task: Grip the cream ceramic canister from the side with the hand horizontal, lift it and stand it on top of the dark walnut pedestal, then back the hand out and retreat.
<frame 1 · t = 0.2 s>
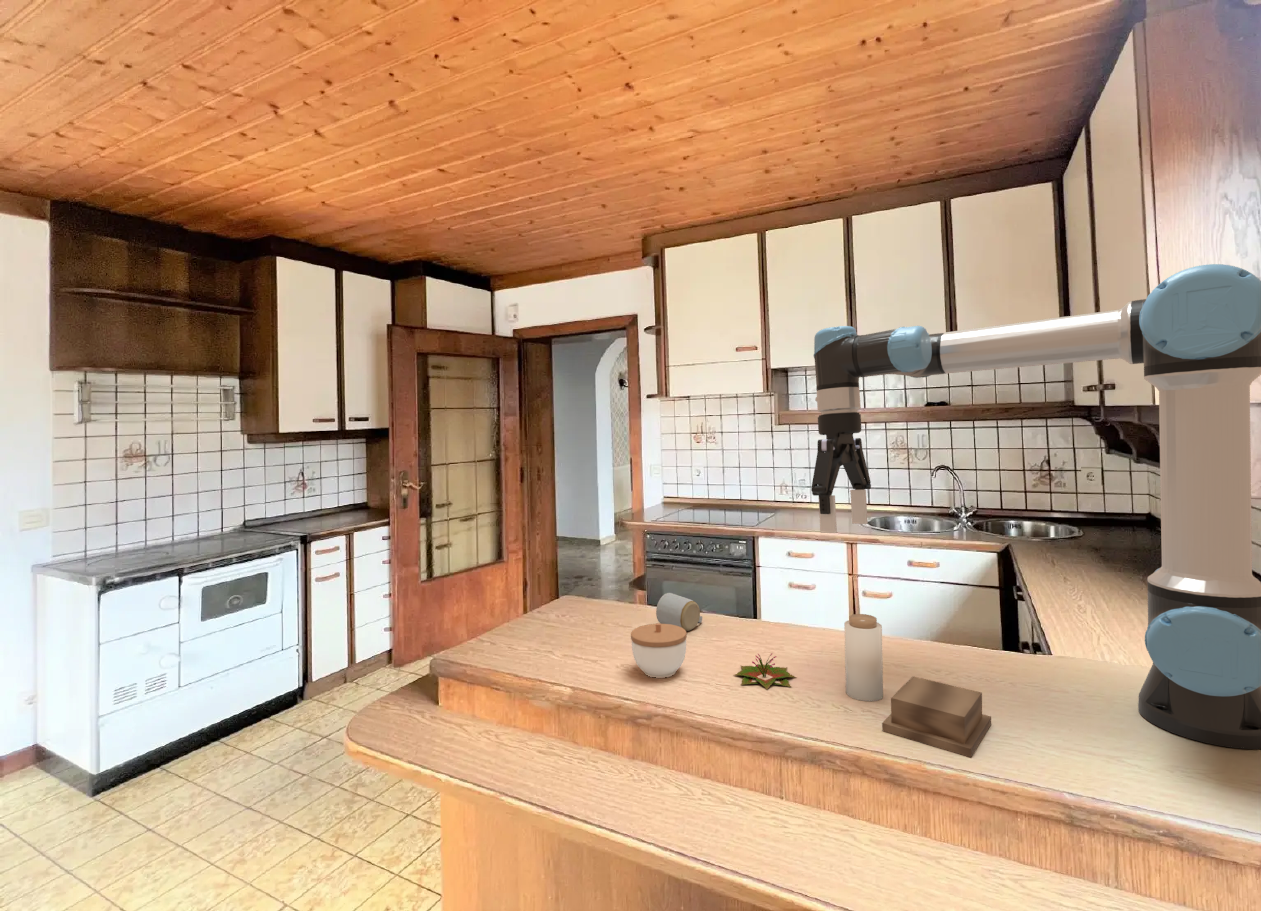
hand: (844, 528, 112), 27 cm above the counter, tool pointing down, fingers open, 13 cm apart
canister: (864, 693, 105), on the counter
lily flower: (764, 680, 113), on the counter
lidded jar: (659, 672, 117), on the counter
pedestal: (937, 727, 92), on the counter
ceramic mug: (682, 627, 144), on the counter
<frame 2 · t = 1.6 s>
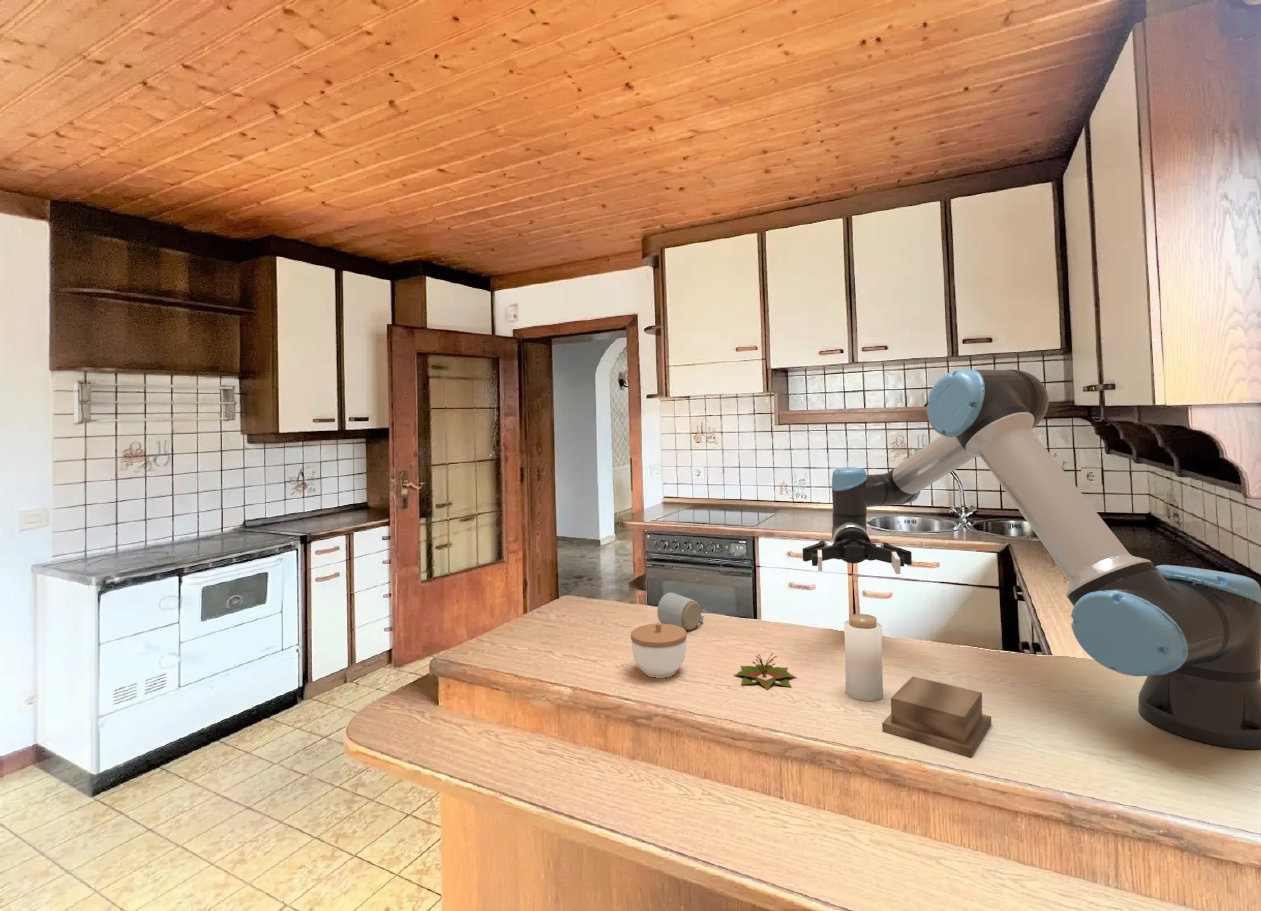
hand: (858, 565, 113), 20 cm above the counter, tool horizontal, fingers open, 13 cm apart
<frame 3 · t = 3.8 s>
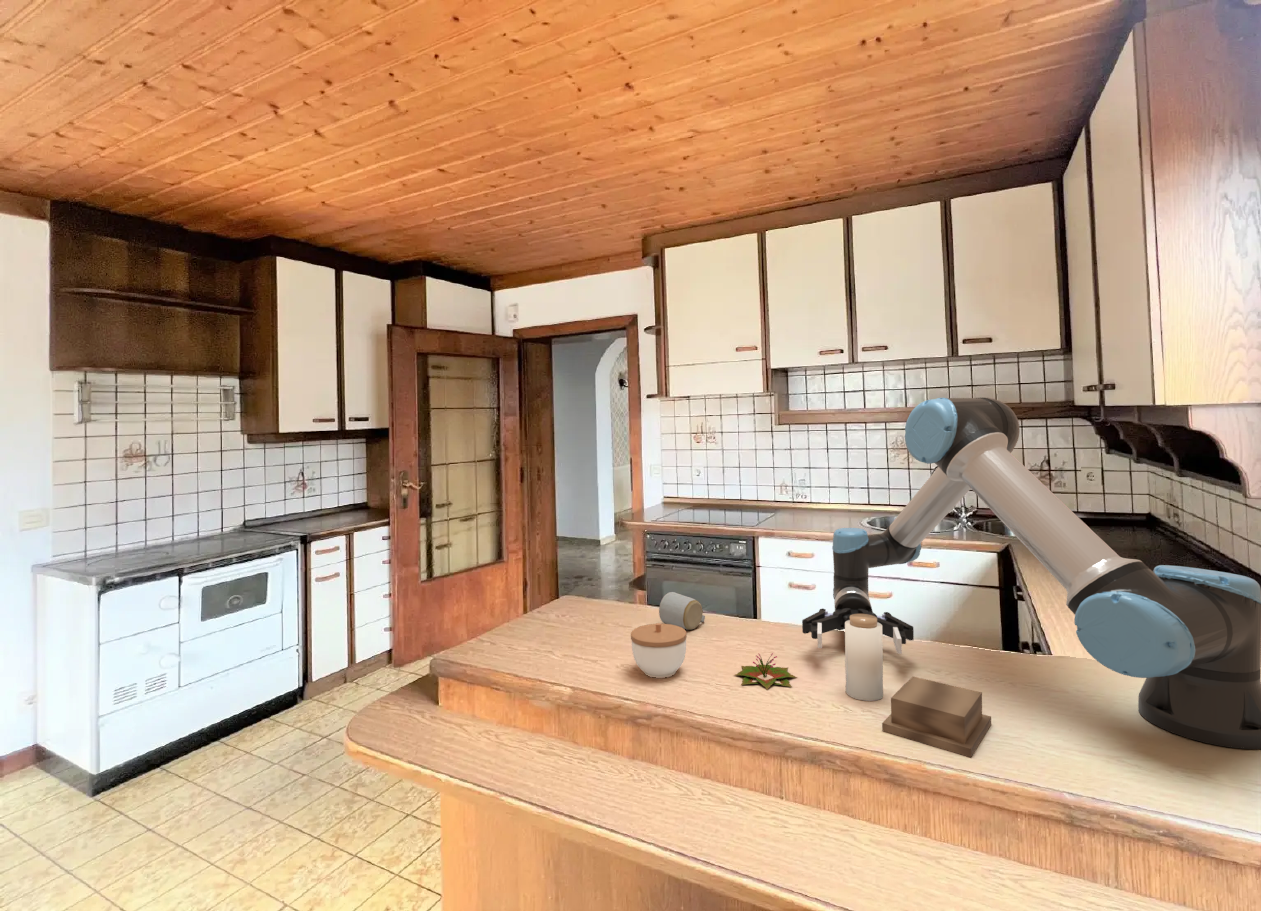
hand: (858, 643, 111), 6 cm above the counter, tool horizontal, fingers open, 13 cm apart
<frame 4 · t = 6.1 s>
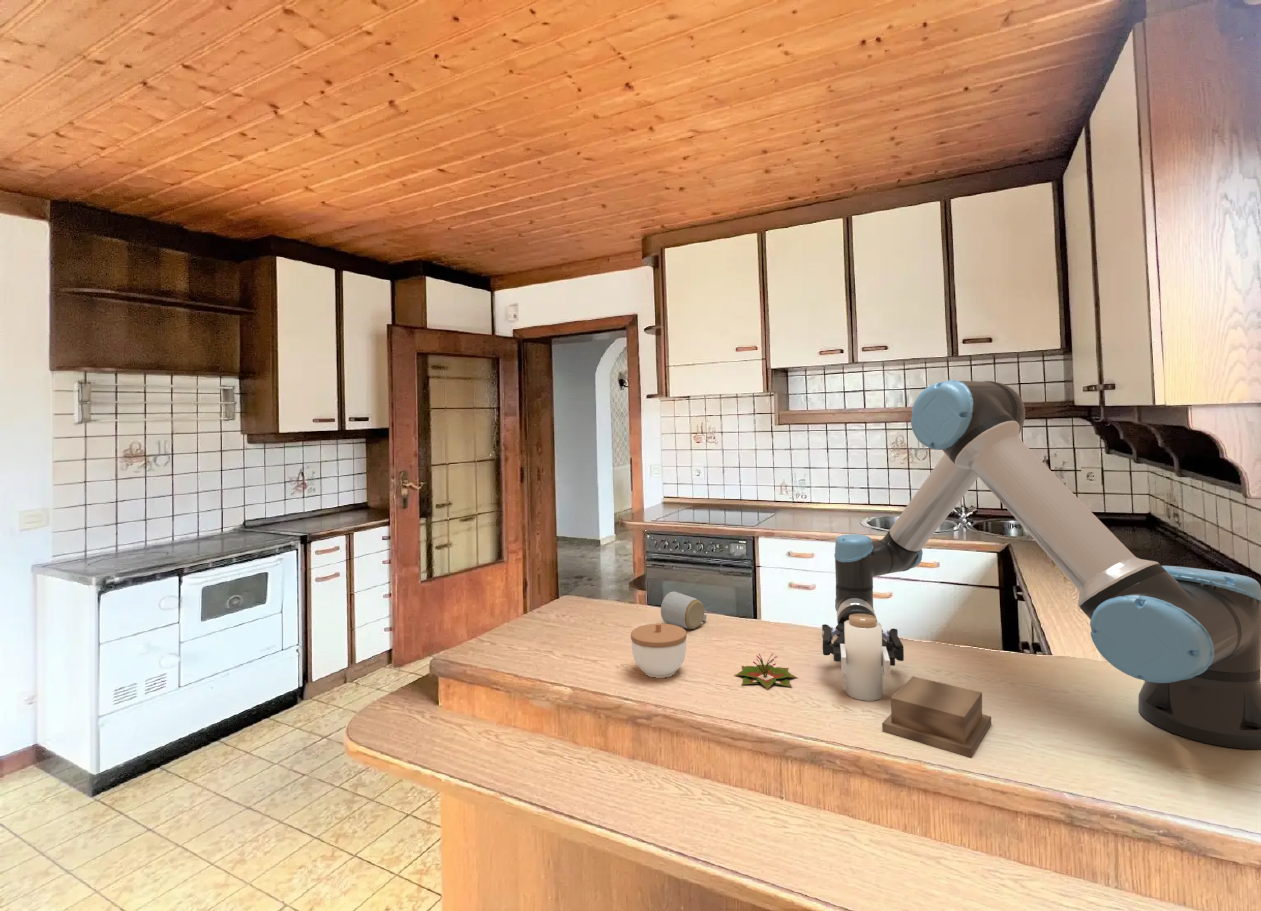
hand: (865, 666, 100), 7 cm above the counter, tool horizontal, fingers closed on canister, 6 cm apart
canister: (864, 693, 105), on the counter, touching gripper
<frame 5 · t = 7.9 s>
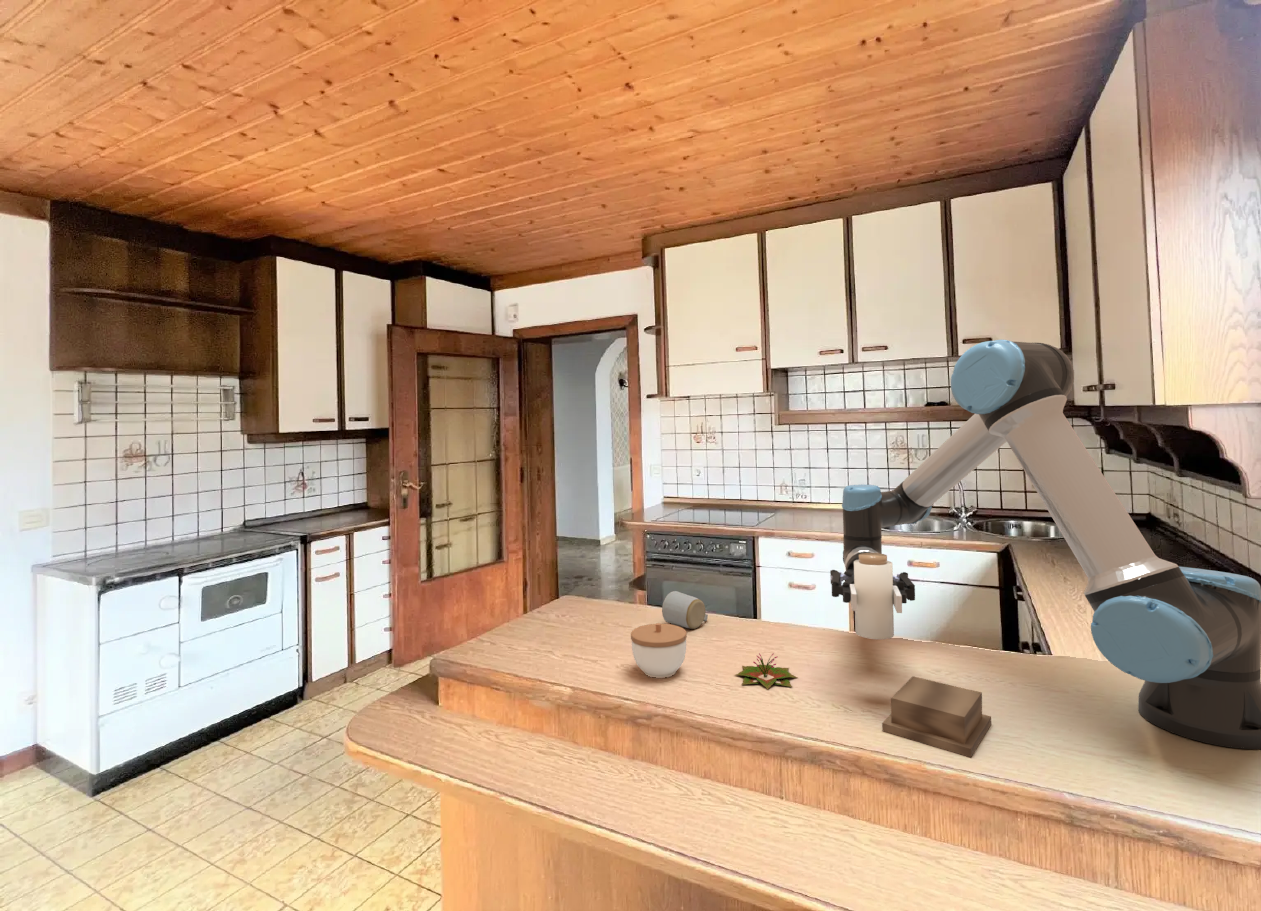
hand: (876, 603, 97), 18 cm above the counter, tool horizontal, fingers closed on canister, 6 cm apart
canister: (874, 633, 102), point 11 cm above the counter, touching gripper
when the fingers open (13 cm above the counter, at t = 9.8 s): canister drops 1 cm, resting on pedestal.
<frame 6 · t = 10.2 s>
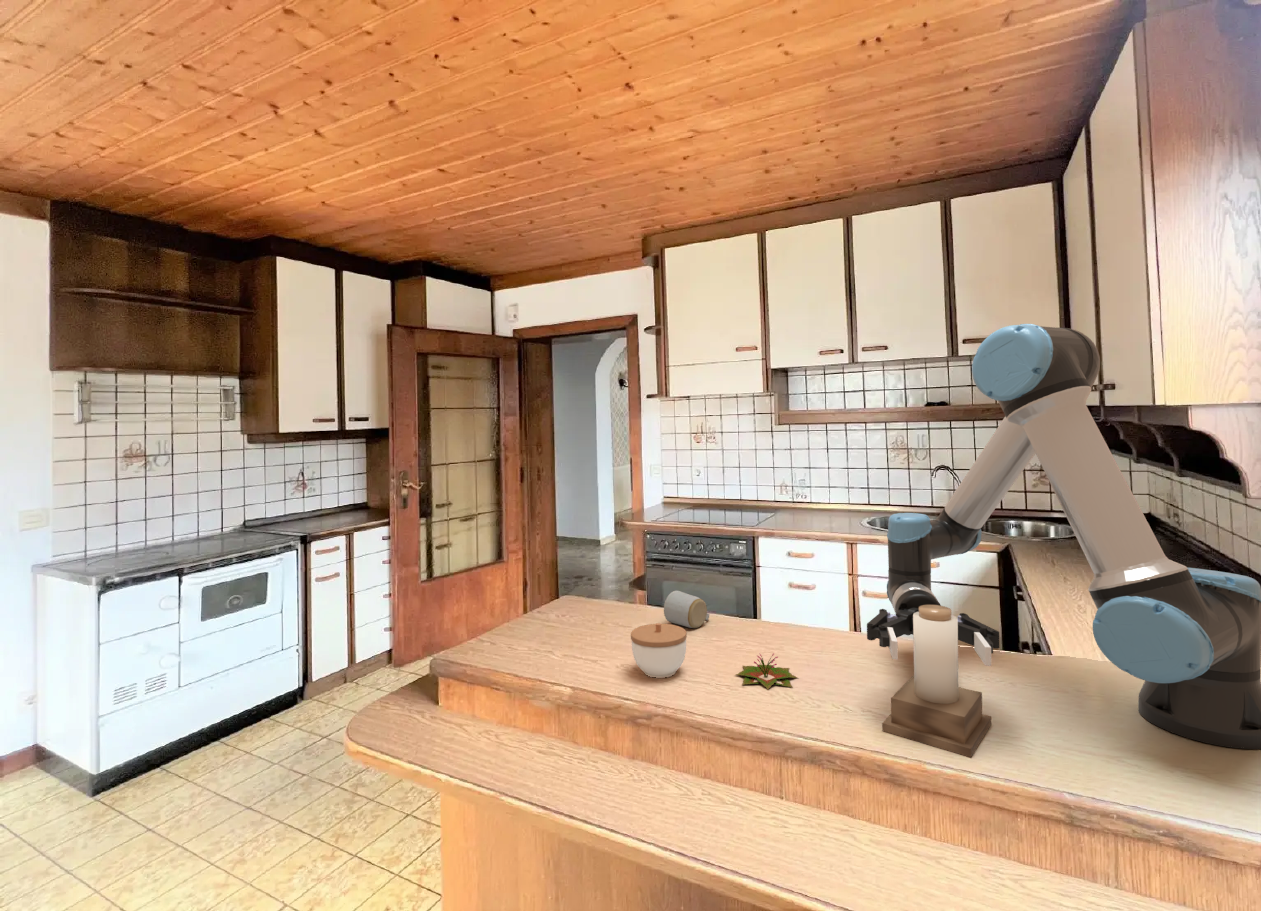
hand: (940, 653, 88), 13 cm above the counter, tool horizontal, fingers open, 11 cm apart
canister: (936, 694, 92), point 5 cm above the counter, touching pedestal
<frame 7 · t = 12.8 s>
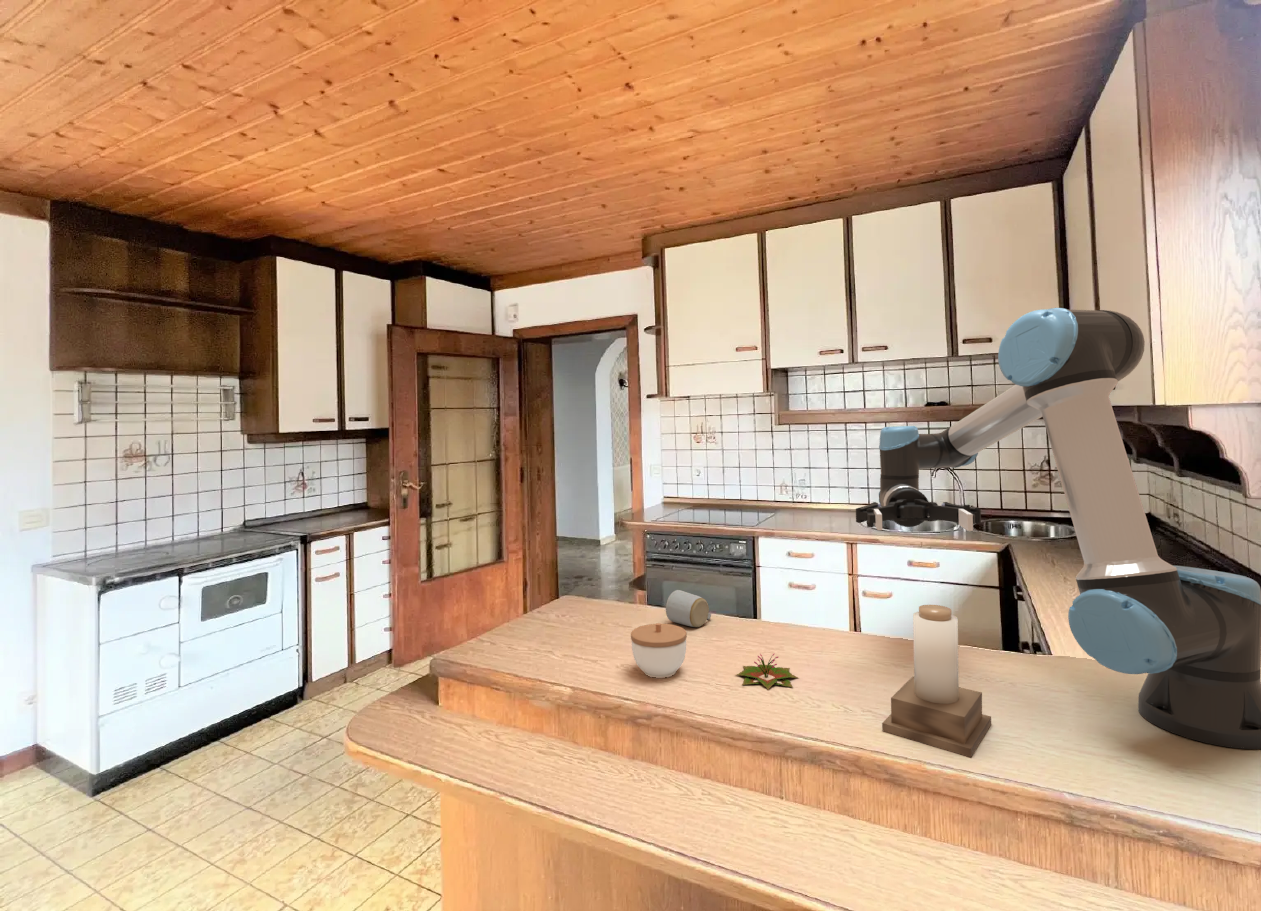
hand: (924, 522, 100), 30 cm above the counter, tool horizontal, fingers open, 13 cm apart
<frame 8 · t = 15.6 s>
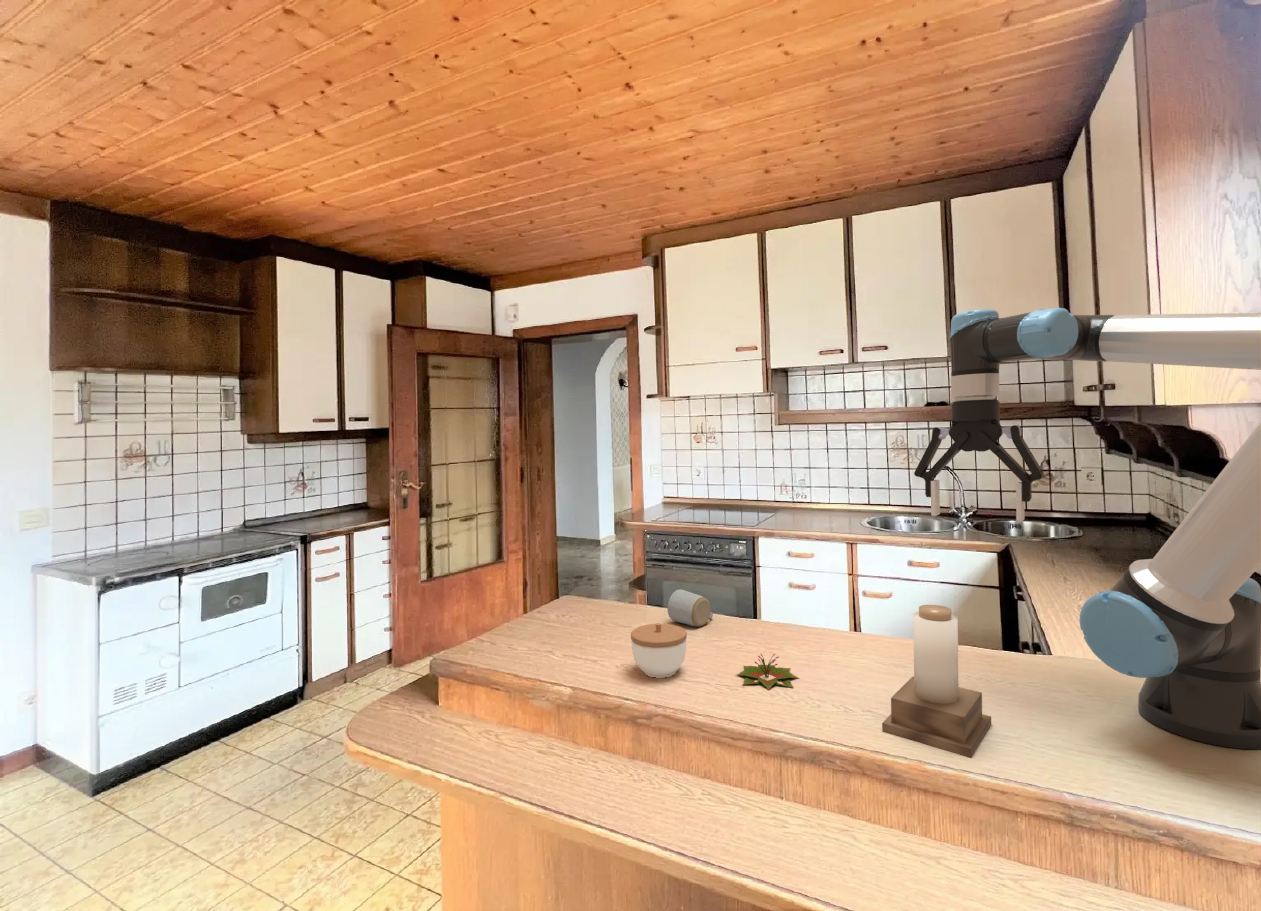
hand: (976, 517, 110), 29 cm above the counter, tool pointing down, fingers open, 13 cm apart
at the end: canister inside the target area on the pedestal (0.1 cm from its centre), point 5.0 cm above the pedestal's base; canister tilted 0°; the gripper is holding nothing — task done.
